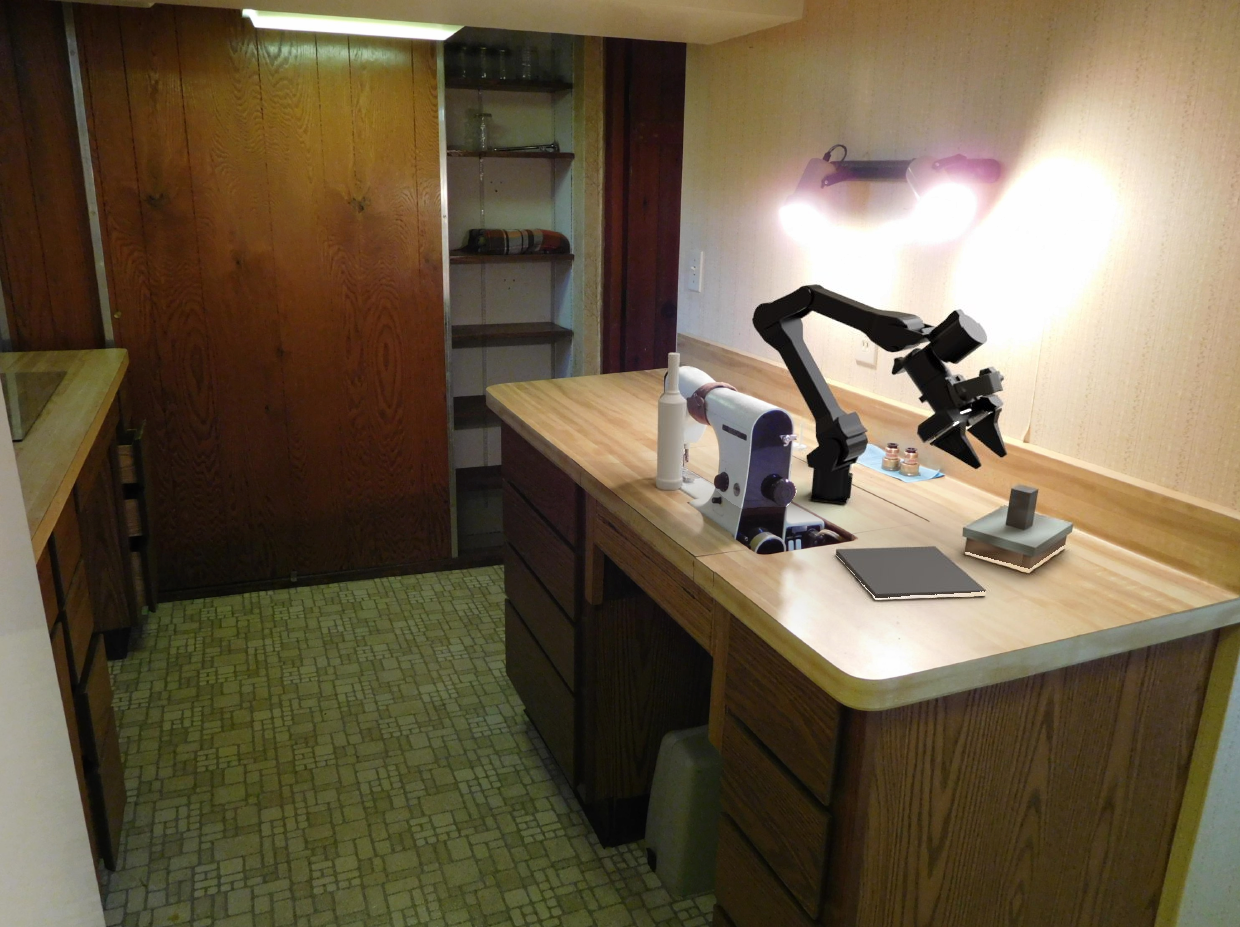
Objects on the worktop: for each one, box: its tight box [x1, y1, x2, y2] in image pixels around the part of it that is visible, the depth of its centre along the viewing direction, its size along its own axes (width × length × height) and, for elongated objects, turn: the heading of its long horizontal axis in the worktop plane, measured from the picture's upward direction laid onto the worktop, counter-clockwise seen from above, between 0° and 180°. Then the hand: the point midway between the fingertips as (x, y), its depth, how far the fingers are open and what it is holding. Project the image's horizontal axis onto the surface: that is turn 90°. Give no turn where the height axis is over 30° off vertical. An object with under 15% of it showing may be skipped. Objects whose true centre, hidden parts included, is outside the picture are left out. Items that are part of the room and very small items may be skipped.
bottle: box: [654, 352, 688, 491], centre depth 169 cm, size 5×5×25 cm
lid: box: [961, 483, 1074, 557], centre depth 143 cm, size 11×15×8 cm
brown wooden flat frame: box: [964, 535, 1068, 569], centre depth 145 cm, size 10×14×3 cm
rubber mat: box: [835, 545, 987, 598], centre depth 136 cm, size 16×16×1 cm
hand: (991, 461), depth 145 cm, fingers open, 9 cm apart
